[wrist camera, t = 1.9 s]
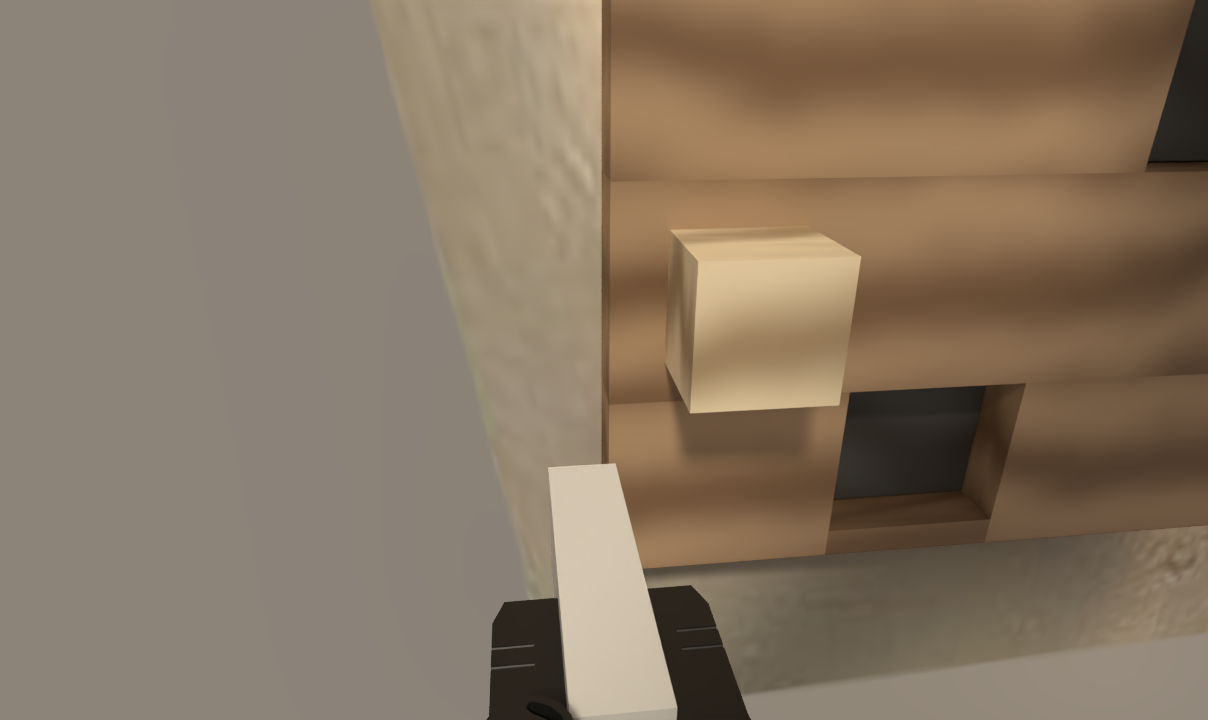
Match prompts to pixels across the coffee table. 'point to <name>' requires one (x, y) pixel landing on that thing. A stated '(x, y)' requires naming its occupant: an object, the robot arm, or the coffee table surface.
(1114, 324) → the board
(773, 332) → the maple block
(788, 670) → the coffee table surface
